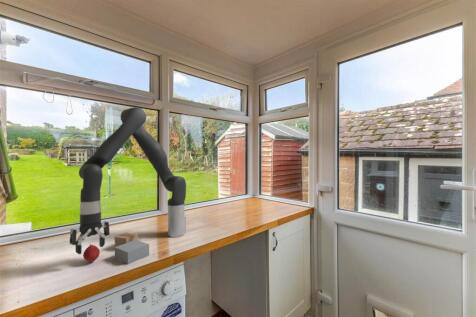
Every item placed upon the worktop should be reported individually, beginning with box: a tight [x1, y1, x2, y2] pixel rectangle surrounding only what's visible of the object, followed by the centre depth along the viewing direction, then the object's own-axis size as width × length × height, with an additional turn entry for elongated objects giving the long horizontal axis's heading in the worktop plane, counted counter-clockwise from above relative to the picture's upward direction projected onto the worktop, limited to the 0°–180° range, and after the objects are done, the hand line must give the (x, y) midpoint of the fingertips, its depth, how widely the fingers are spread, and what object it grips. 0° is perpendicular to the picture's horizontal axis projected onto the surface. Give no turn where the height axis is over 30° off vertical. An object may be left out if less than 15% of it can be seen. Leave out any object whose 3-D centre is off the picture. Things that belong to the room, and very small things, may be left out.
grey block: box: [114, 239, 150, 265], centre depth 99 cm, size 10×10×5 cm
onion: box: [82, 243, 101, 264], centre depth 94 cm, size 6×6×8 cm
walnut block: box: [114, 231, 138, 248], centre depth 110 cm, size 7×7×6 cm
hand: (90, 249), depth 94 cm, fingers open, 8 cm apart
